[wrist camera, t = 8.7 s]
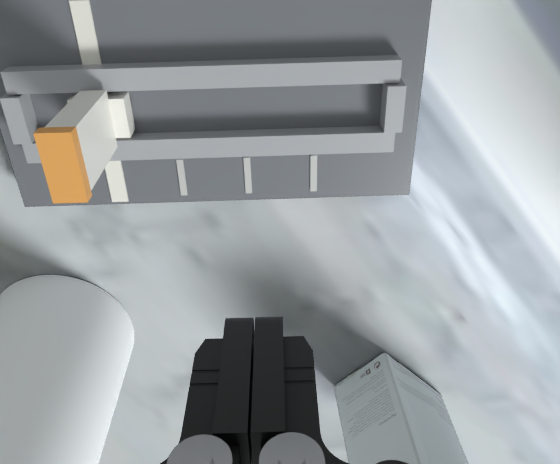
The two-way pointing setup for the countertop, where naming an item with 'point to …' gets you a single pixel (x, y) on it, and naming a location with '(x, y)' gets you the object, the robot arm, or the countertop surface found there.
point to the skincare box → (395, 417)
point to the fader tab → (82, 142)
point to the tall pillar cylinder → (59, 369)
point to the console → (222, 94)
